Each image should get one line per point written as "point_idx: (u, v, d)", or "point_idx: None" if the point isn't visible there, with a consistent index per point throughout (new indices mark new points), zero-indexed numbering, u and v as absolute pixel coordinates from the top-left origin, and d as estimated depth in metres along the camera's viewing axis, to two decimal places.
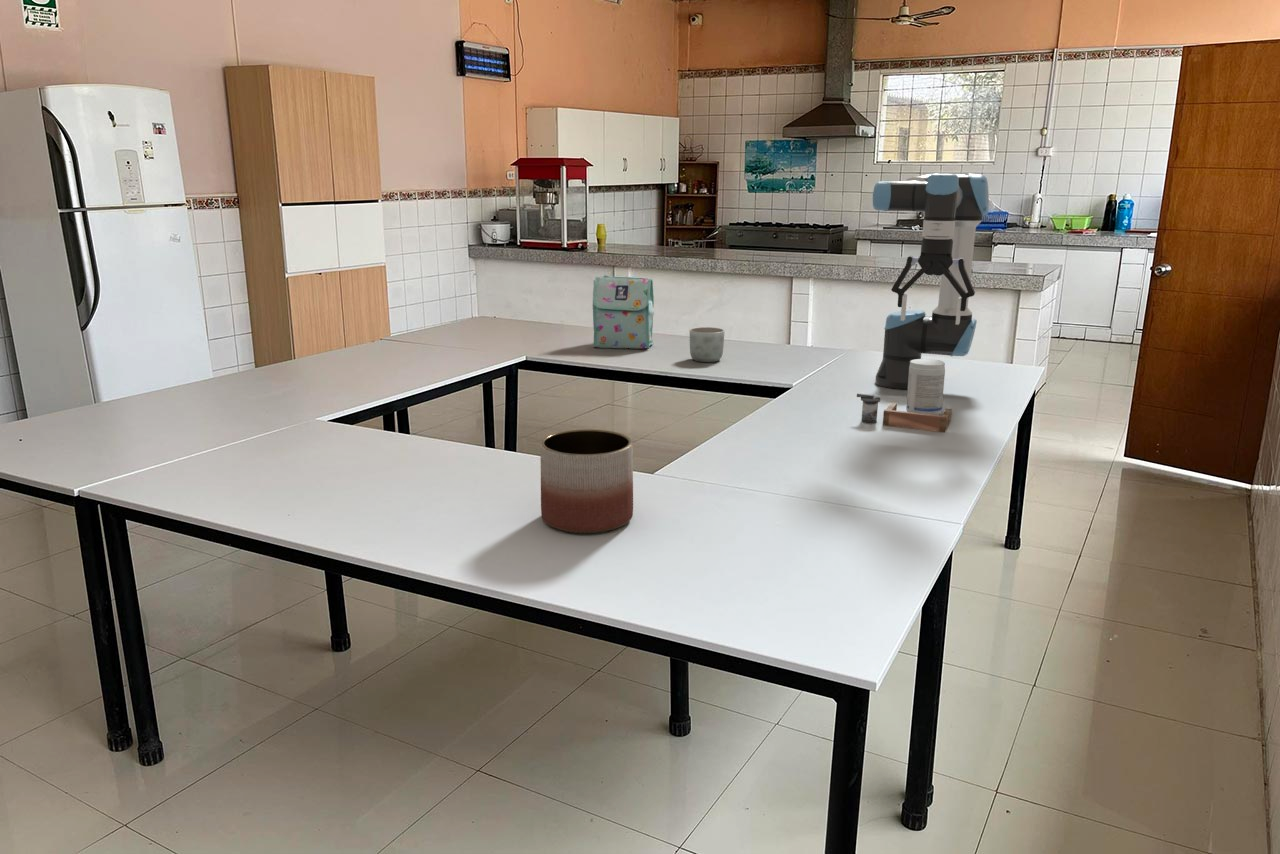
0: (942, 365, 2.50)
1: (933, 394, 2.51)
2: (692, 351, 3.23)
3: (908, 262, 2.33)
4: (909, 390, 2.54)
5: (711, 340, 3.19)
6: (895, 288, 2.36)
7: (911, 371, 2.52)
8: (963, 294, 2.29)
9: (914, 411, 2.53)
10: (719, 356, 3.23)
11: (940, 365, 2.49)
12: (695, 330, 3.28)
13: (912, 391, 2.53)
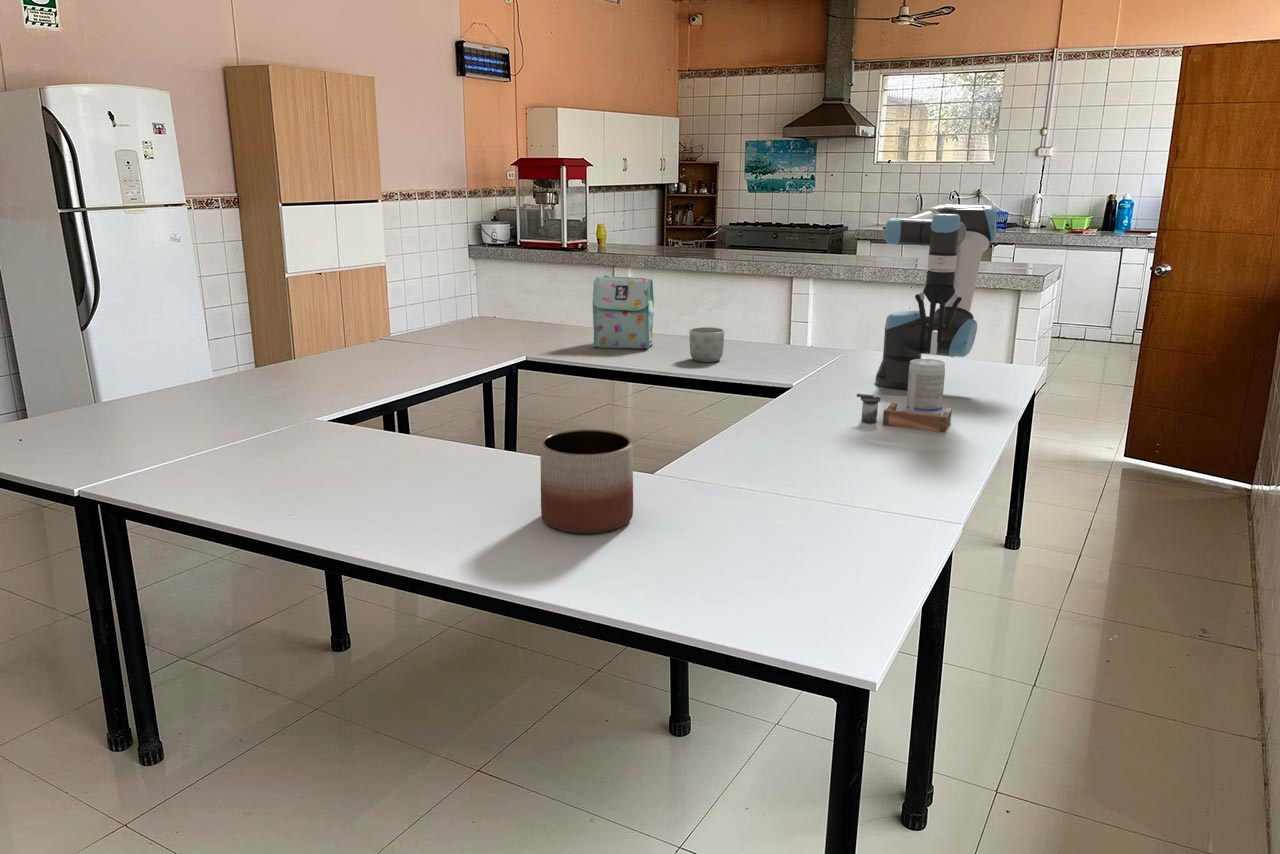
0: (942, 365, 2.50)
1: (933, 394, 2.51)
2: (692, 351, 3.23)
3: (918, 299, 2.59)
4: (909, 390, 2.54)
5: (711, 340, 3.19)
6: (924, 324, 2.60)
7: (911, 371, 2.52)
8: (940, 328, 2.59)
9: (914, 411, 2.53)
10: (719, 356, 3.23)
11: (940, 365, 2.49)
12: (695, 330, 3.28)
13: (912, 391, 2.53)
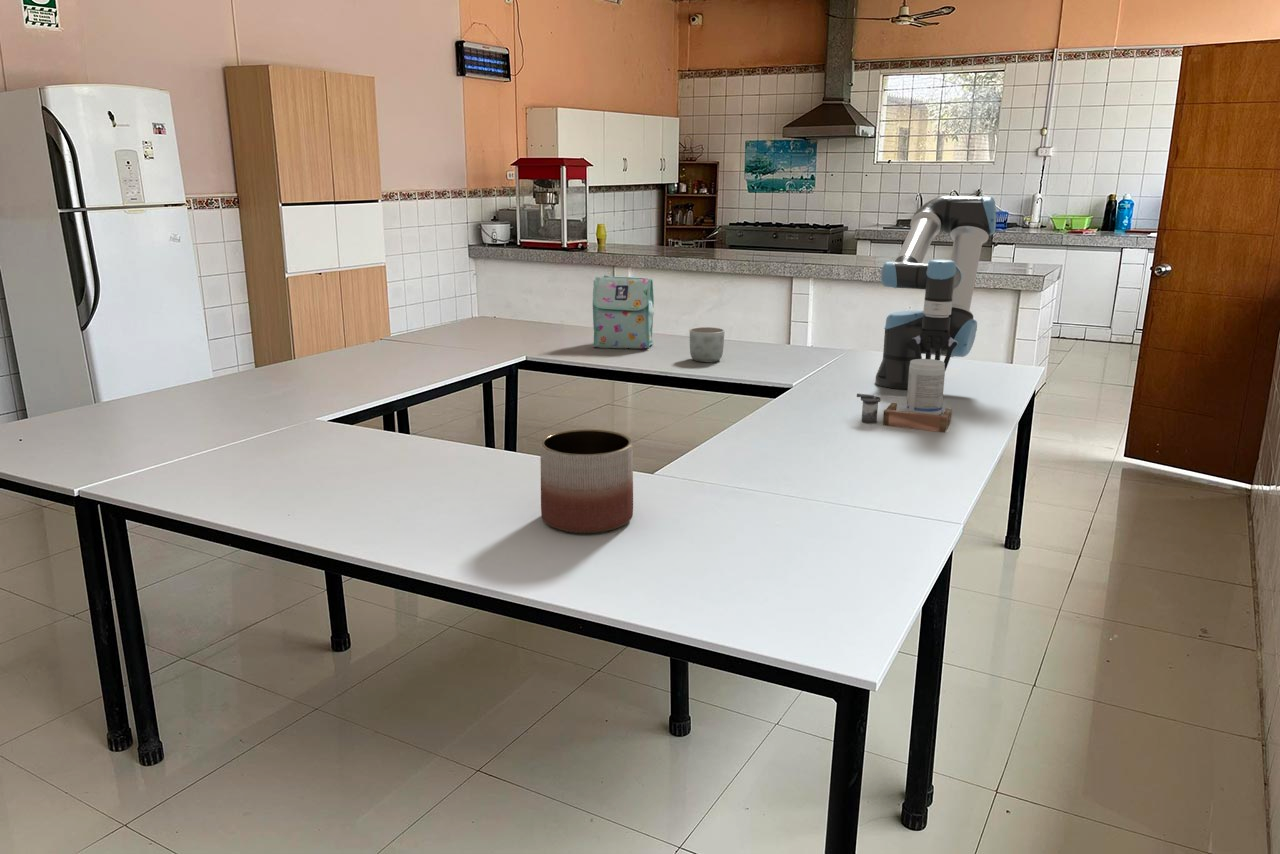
0: (942, 365, 2.50)
1: (933, 394, 2.51)
2: (692, 351, 3.23)
3: (914, 343, 2.62)
4: (909, 390, 2.54)
5: (711, 340, 3.19)
6: None
7: (911, 371, 2.52)
8: None
9: (914, 411, 2.53)
10: (719, 356, 3.23)
11: (940, 365, 2.49)
12: (695, 330, 3.28)
13: (912, 391, 2.53)
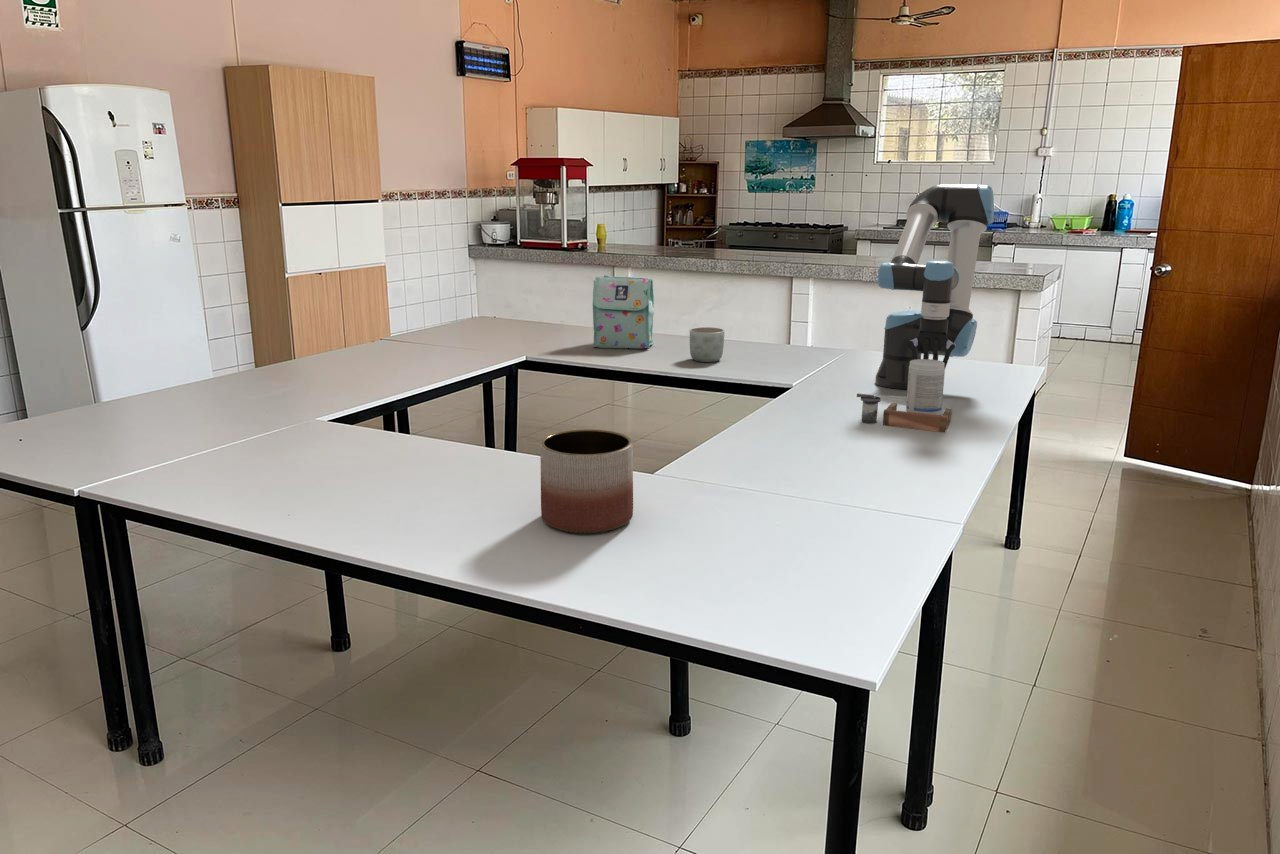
0: (942, 365, 2.49)
1: (933, 395, 2.50)
2: (692, 351, 3.23)
3: (911, 346, 2.58)
4: (909, 390, 2.54)
5: (711, 340, 3.19)
6: None
7: (911, 371, 2.52)
8: None
9: (914, 411, 2.53)
10: (719, 356, 3.23)
11: (940, 365, 2.49)
12: (695, 330, 3.28)
13: (912, 391, 2.52)
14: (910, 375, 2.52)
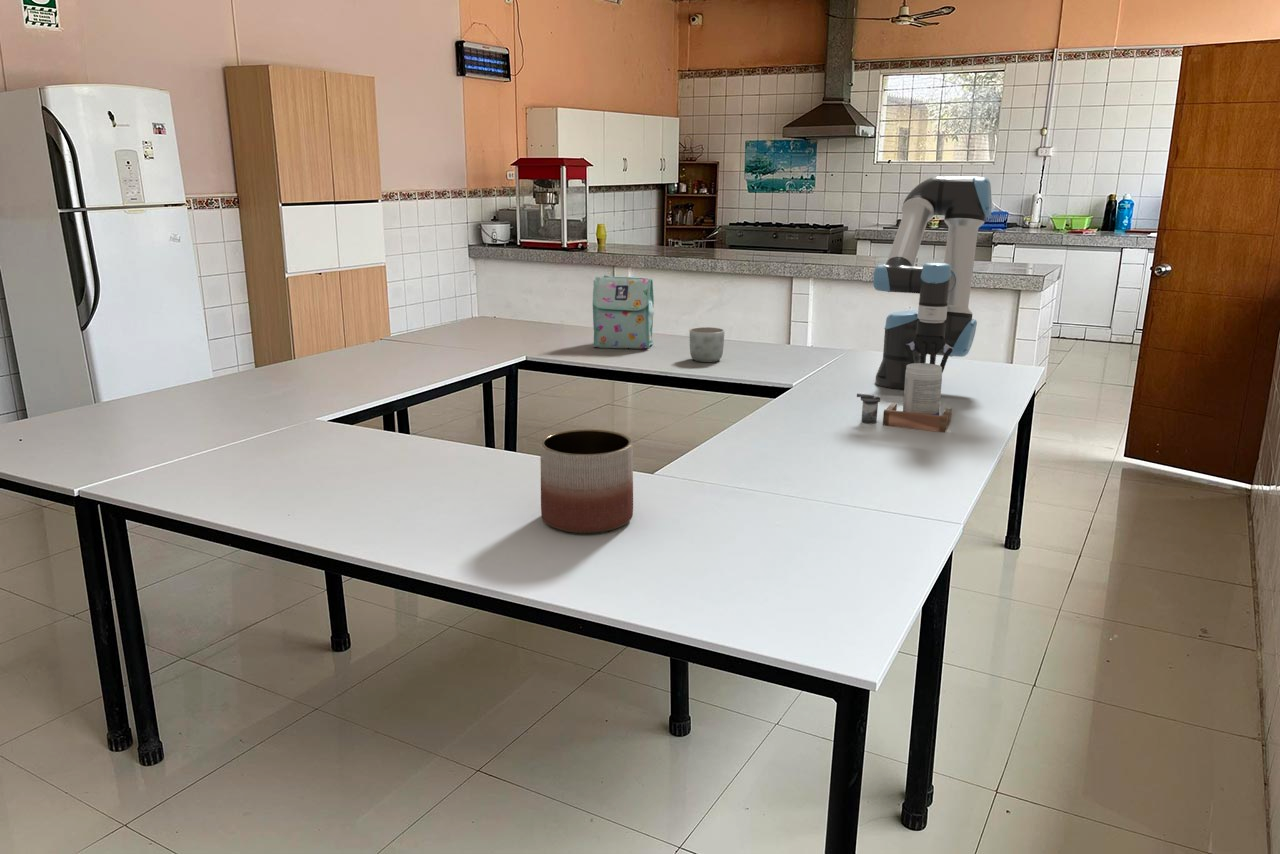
0: (939, 369, 2.44)
1: (930, 400, 2.45)
2: (692, 351, 3.23)
3: (908, 350, 2.53)
4: (905, 395, 2.48)
5: (711, 340, 3.19)
6: None
7: (908, 376, 2.47)
8: None
9: None
10: (719, 356, 3.23)
11: (937, 369, 2.43)
12: (695, 330, 3.28)
13: (909, 396, 2.47)
14: (907, 379, 2.47)
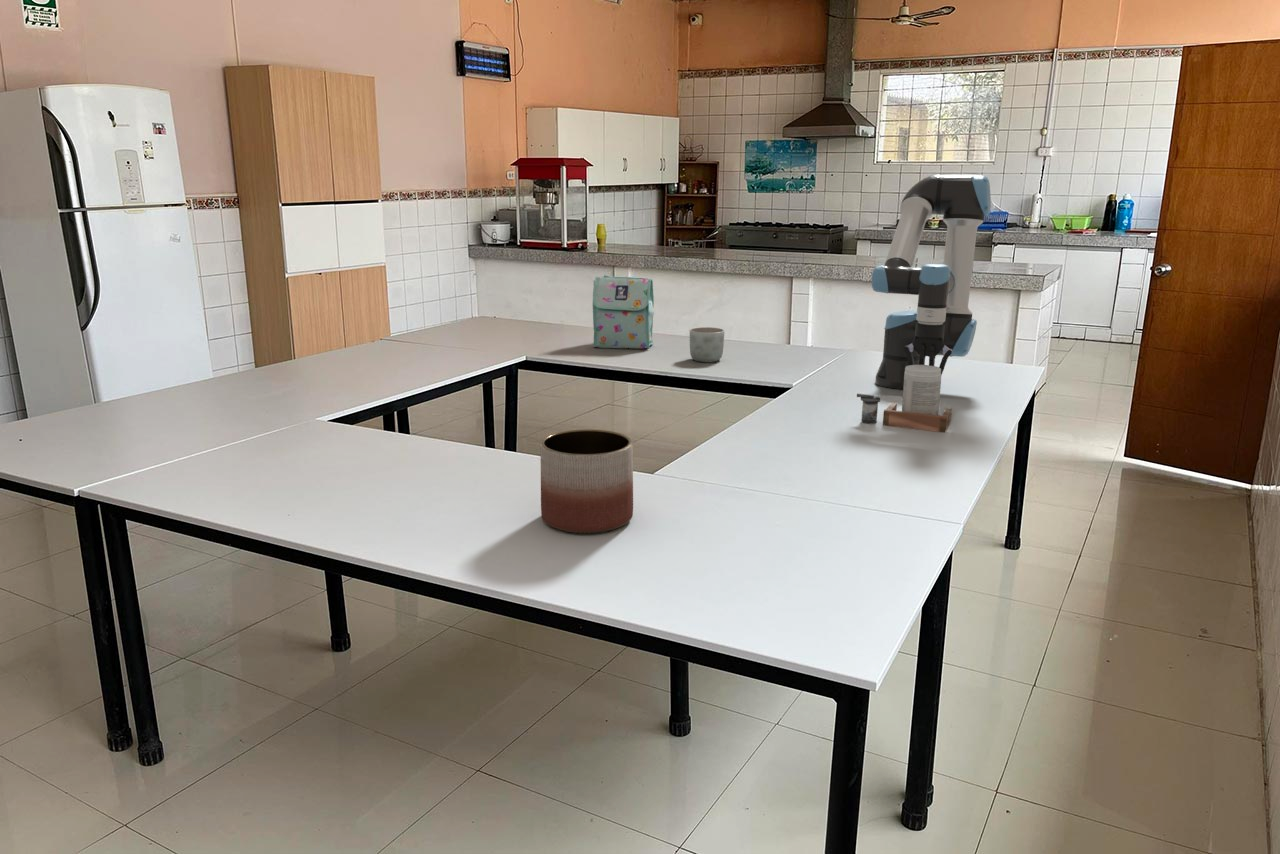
0: (938, 371, 2.42)
1: (929, 402, 2.43)
2: (692, 351, 3.23)
3: (907, 352, 2.51)
4: (904, 397, 2.46)
5: (711, 340, 3.19)
6: None
7: (906, 377, 2.45)
8: None
9: None
10: (719, 356, 3.23)
11: (936, 371, 2.41)
12: (695, 330, 3.28)
13: (907, 398, 2.45)
14: (906, 381, 2.45)
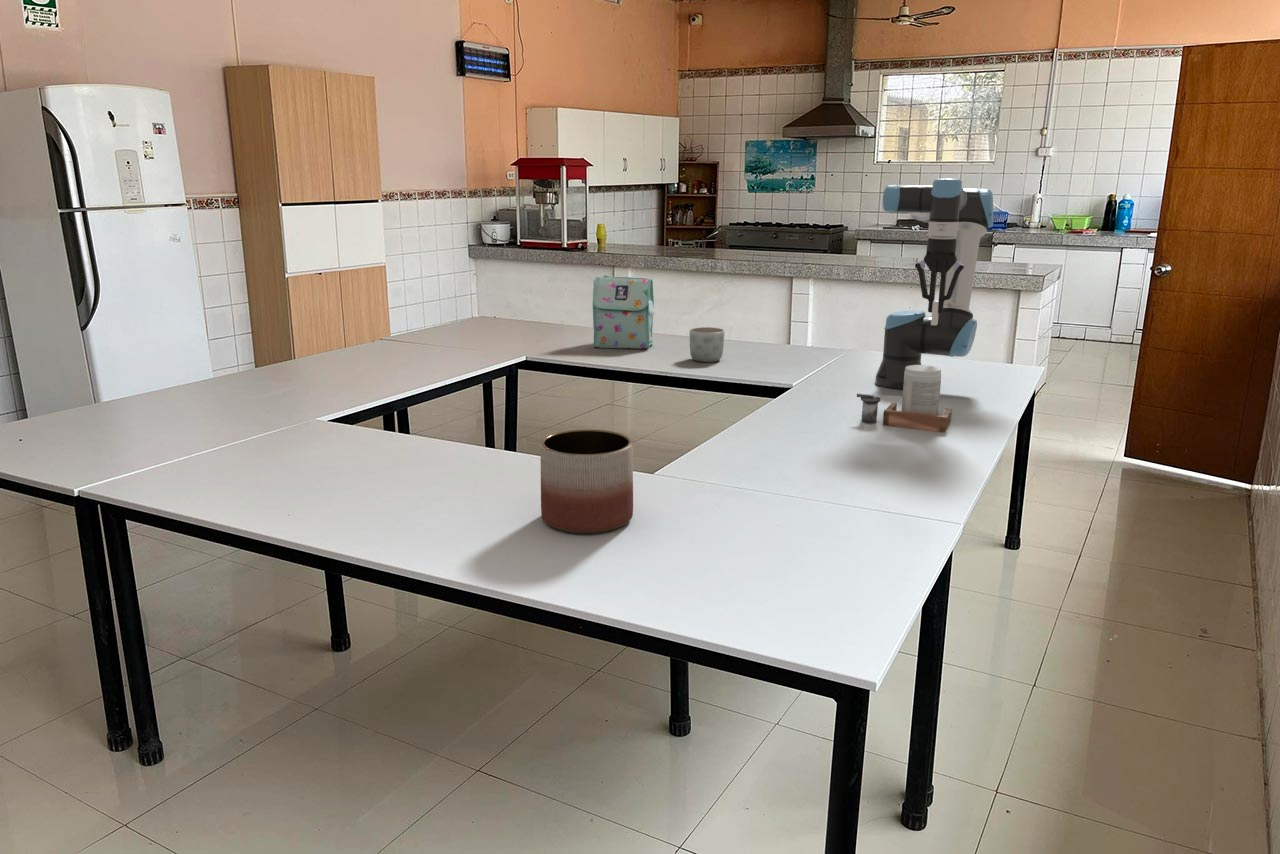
0: (938, 371, 2.42)
1: (929, 402, 2.43)
2: (692, 351, 3.23)
3: (918, 268, 2.50)
4: (904, 397, 2.46)
5: (711, 340, 3.19)
6: (925, 294, 2.51)
7: (906, 378, 2.44)
8: (941, 298, 2.49)
9: None
10: (719, 356, 3.23)
11: (936, 371, 2.41)
12: (695, 330, 3.28)
13: (907, 398, 2.45)
14: (906, 381, 2.45)
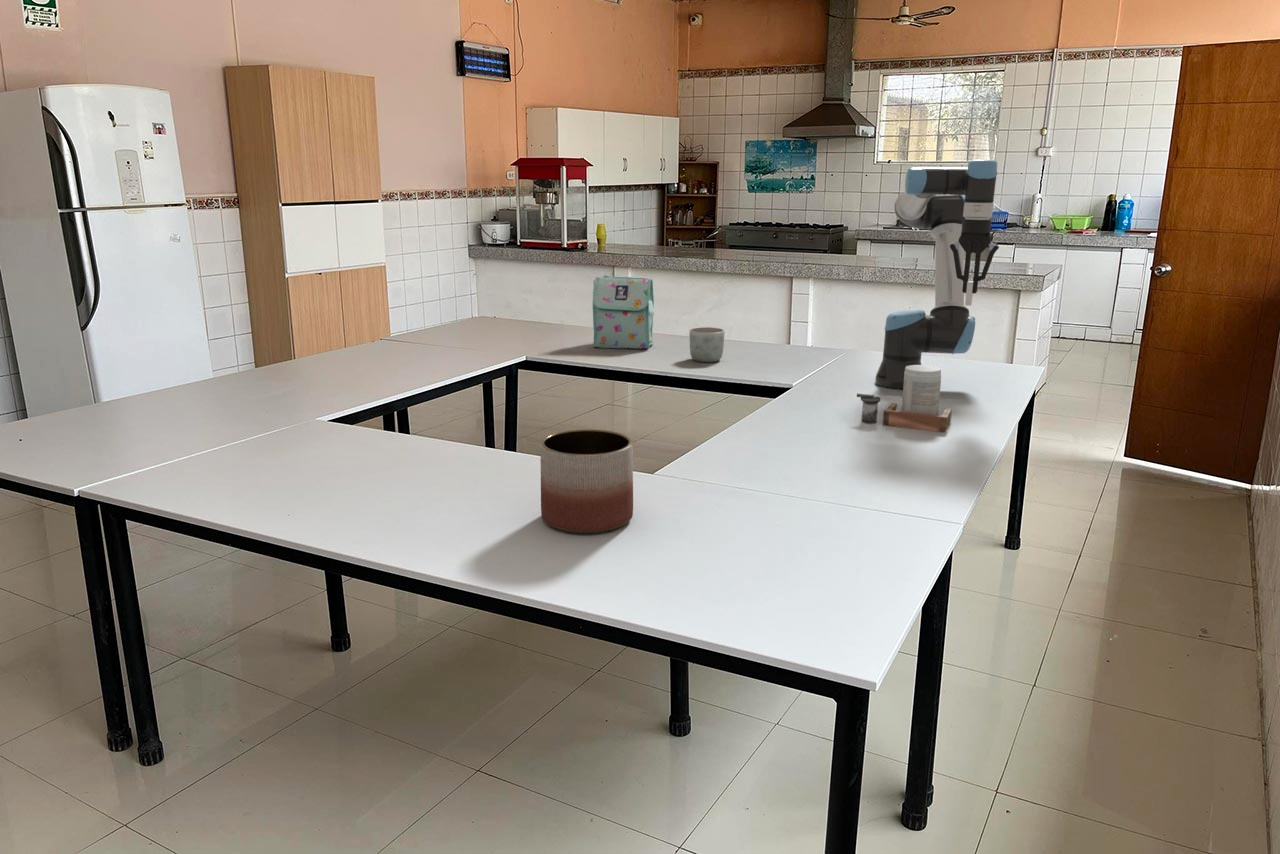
0: (938, 371, 2.42)
1: (929, 402, 2.43)
2: (692, 351, 3.23)
3: (953, 249, 2.53)
4: (904, 397, 2.46)
5: (711, 340, 3.19)
6: (959, 274, 2.54)
7: (906, 378, 2.44)
8: (976, 278, 2.53)
9: None
10: (719, 356, 3.23)
11: (936, 371, 2.41)
12: (695, 330, 3.28)
13: (907, 398, 2.45)
14: (906, 381, 2.45)
